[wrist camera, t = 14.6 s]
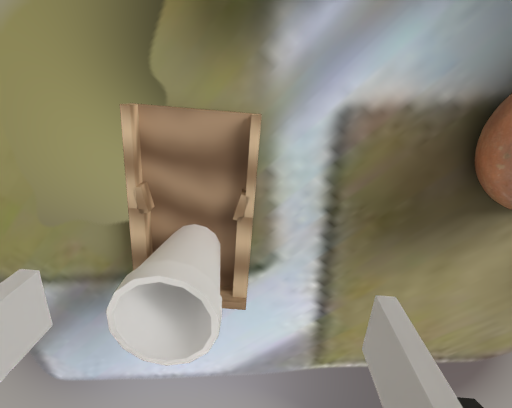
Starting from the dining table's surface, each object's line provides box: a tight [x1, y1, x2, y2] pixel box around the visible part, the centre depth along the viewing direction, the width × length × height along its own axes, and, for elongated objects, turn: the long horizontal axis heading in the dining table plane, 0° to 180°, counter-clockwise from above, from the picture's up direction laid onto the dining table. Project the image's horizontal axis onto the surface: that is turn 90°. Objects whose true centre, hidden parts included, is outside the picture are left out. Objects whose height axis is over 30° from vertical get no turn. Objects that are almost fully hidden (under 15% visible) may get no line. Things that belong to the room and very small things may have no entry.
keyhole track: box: [120, 103, 261, 310], centre depth 34 cm, size 23×14×4 cm, turn 175°
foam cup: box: [106, 224, 222, 366], centre depth 31 cm, size 10×9×13 cm
